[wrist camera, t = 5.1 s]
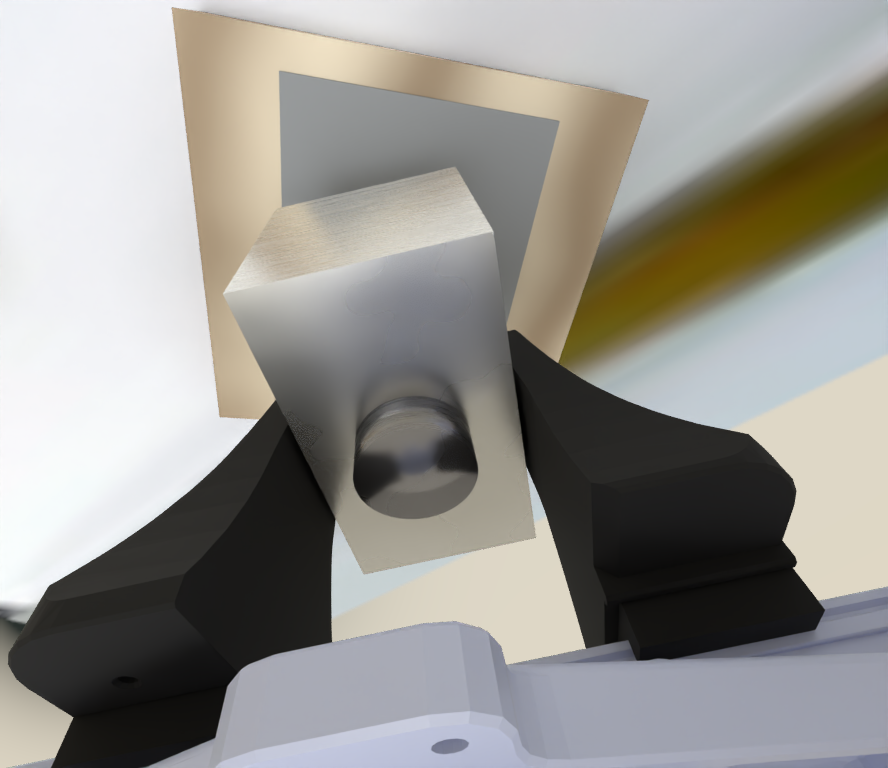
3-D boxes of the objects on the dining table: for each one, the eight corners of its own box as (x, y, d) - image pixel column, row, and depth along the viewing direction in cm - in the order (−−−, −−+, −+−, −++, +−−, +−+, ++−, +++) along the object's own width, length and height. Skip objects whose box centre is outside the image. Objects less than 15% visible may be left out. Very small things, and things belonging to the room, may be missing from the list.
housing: (455, 166, 12) (506, 253, 7) (498, 415, 17) (546, 572, 12) (276, 208, 12) (204, 323, 7) (367, 444, 17) (362, 611, 12)
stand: (617, 92, 18) (651, 100, 15) (520, 403, 25) (534, 438, 23) (199, 11, 15) (169, 7, 13) (234, 383, 23) (218, 419, 21)
